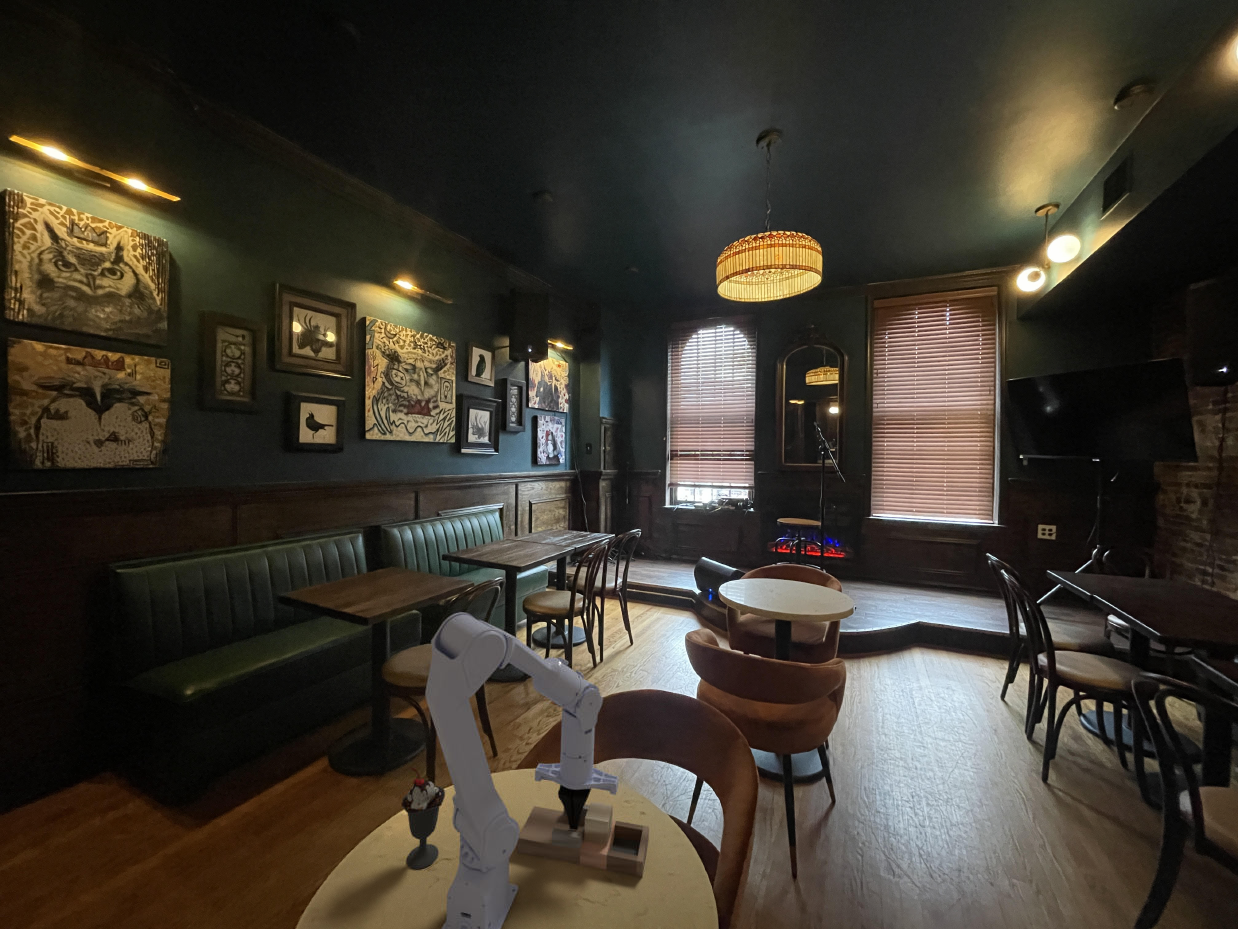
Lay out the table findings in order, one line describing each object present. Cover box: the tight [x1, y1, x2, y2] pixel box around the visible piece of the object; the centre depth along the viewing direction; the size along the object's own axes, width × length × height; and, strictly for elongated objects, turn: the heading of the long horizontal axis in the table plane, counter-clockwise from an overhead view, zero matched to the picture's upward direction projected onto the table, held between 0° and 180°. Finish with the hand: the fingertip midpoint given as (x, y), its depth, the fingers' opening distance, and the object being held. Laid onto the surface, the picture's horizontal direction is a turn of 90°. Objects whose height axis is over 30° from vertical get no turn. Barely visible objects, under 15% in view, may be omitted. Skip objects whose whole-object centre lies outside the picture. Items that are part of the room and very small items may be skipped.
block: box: [584, 801, 614, 845], centre depth 84 cm, size 4×4×4 cm
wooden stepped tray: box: [517, 804, 650, 878], centre depth 85 cm, size 8×22×4 cm, turn 79°
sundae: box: [401, 767, 446, 870], centre depth 81 cm, size 7×7×15 cm
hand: (574, 825), depth 85 cm, fingers closed
